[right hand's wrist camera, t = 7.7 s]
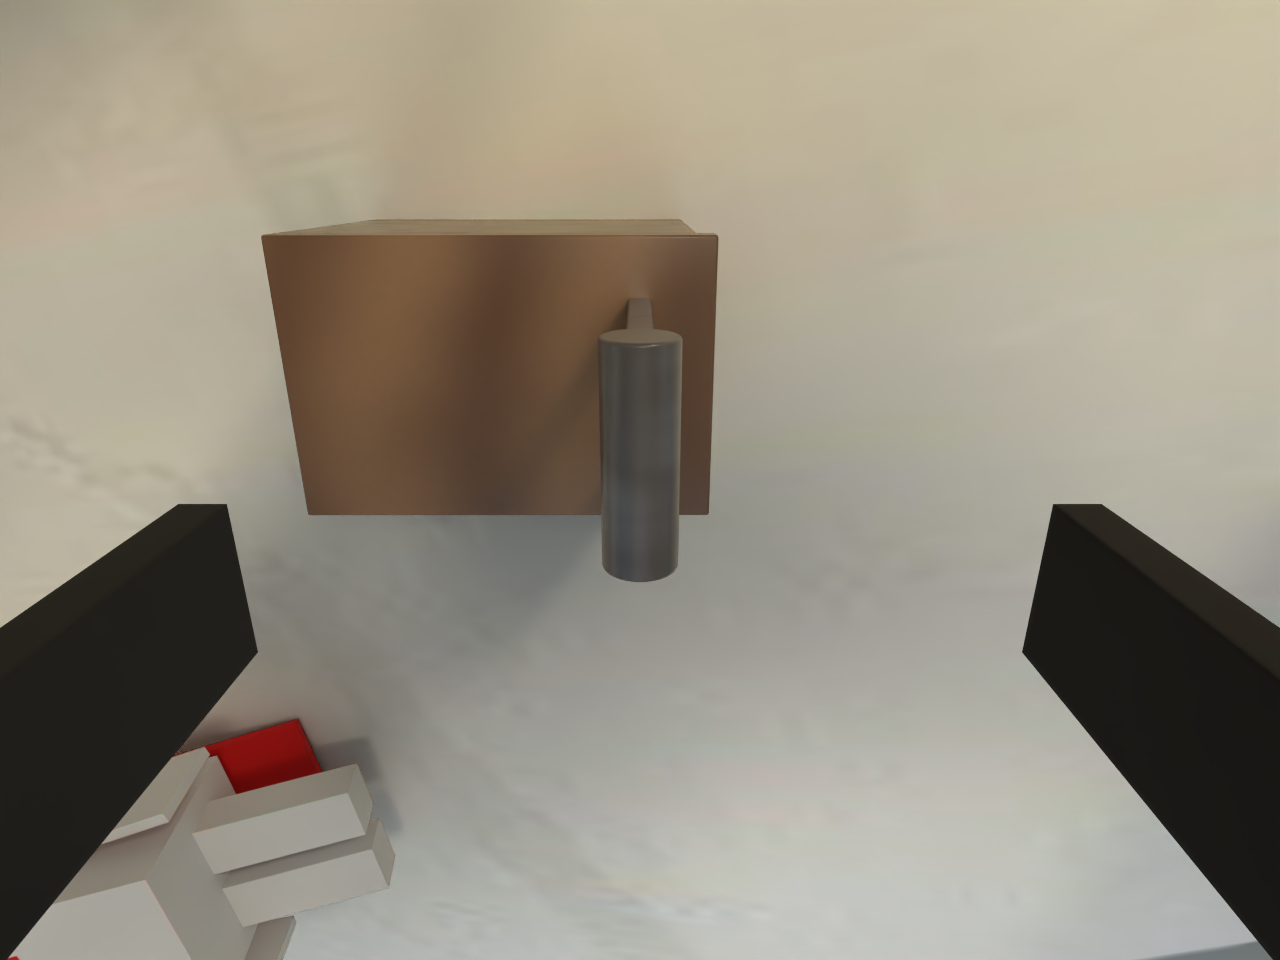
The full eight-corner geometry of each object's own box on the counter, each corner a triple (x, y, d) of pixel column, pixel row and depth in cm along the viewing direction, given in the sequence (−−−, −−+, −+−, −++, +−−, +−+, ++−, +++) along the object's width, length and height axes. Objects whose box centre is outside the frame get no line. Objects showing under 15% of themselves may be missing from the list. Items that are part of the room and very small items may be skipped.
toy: (390, 1010, 36) (-273, 1195, 34) (426, 805, 49) (-59, 933, 47) (298, 813, 32) (-463, 1012, 30) (363, 643, 44) (-172, 777, 43)
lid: (715, 233, 24) (756, 259, 16) (706, 504, 27) (735, 644, 19) (273, 233, 24) (80, 259, 16) (318, 505, 27) (178, 645, 19)
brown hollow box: (682, 219, 33) (698, 233, 24) (678, 425, 36) (691, 504, 27) (373, 219, 33) (274, 232, 24) (397, 425, 36) (318, 504, 27)
